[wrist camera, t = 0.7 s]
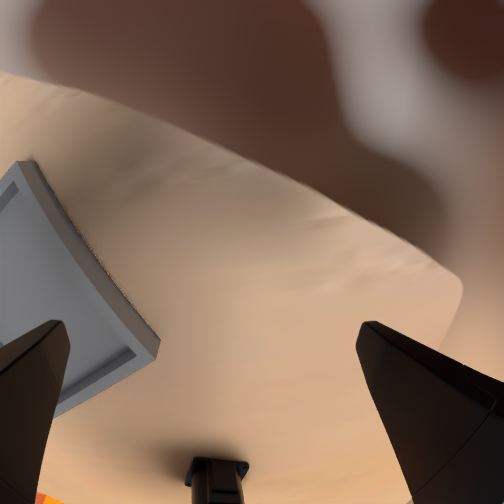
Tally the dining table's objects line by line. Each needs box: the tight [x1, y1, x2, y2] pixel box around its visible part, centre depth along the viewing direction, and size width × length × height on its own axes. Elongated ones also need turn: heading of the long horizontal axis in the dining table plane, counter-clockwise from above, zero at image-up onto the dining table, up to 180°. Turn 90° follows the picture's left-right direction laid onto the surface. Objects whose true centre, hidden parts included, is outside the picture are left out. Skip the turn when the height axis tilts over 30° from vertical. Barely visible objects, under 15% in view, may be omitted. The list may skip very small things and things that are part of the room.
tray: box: [0, 161, 161, 419], centre depth 19 cm, size 18×16×3 cm
